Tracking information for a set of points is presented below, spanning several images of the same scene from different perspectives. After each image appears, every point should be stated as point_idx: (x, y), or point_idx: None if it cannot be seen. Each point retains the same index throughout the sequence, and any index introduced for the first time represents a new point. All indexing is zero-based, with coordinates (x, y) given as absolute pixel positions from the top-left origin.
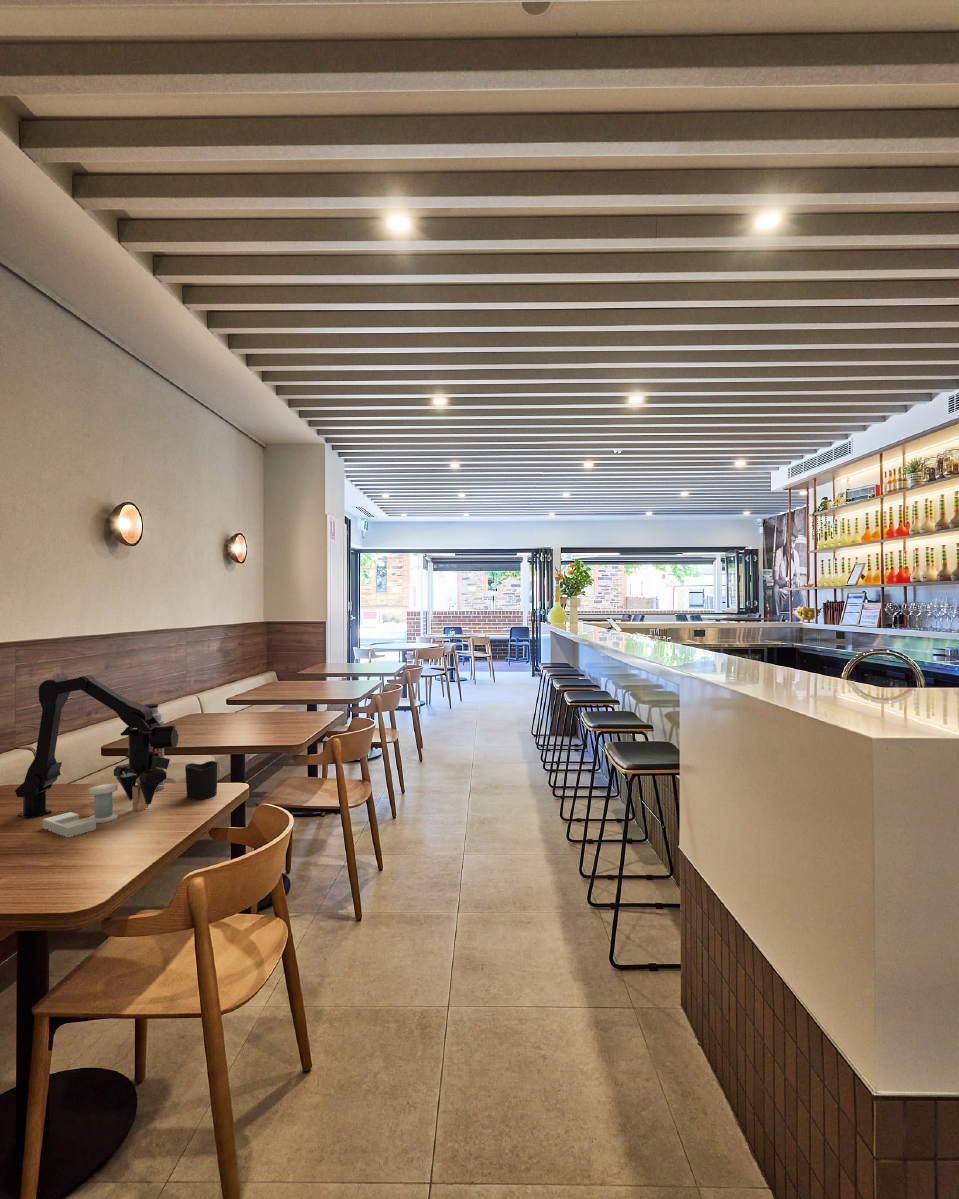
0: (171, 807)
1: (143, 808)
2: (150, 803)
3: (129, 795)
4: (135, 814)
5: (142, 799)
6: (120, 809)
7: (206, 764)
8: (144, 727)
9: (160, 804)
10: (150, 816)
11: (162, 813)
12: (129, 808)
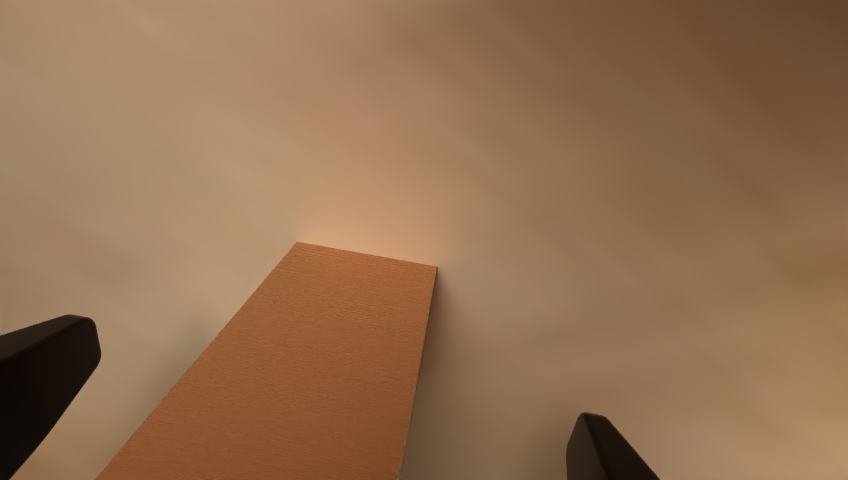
0: (783, 97)
1: (425, 333)
2: (608, 425)
3: (40, 429)
4: (489, 450)
5: (404, 447)
6: (156, 377)
7: None
8: None
9: (433, 42)
10: (738, 460)
11: (830, 352)
12: (205, 328)
